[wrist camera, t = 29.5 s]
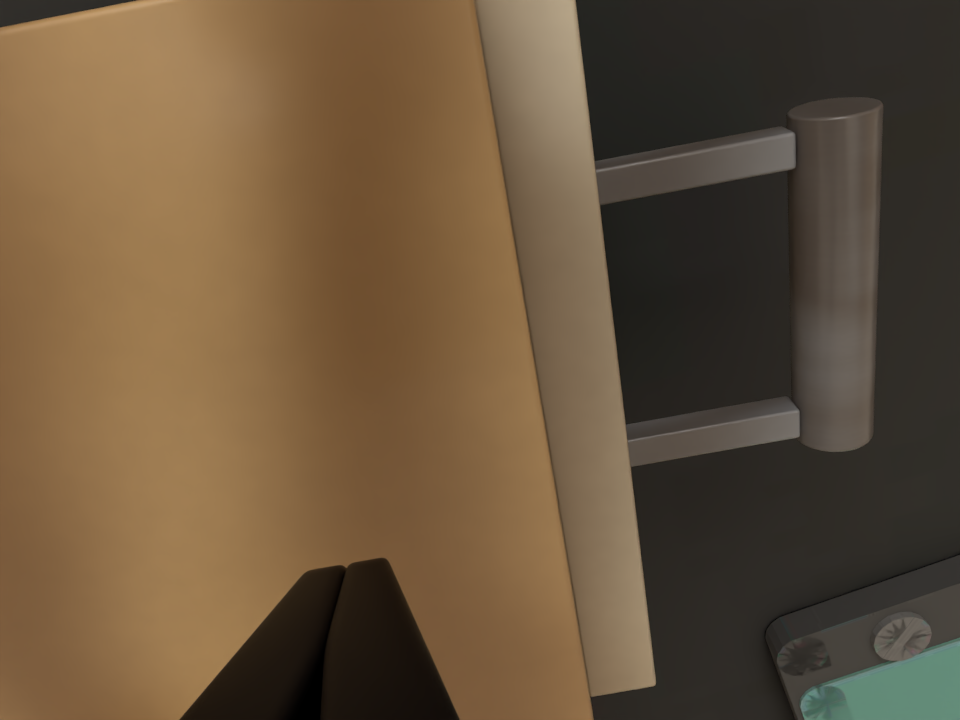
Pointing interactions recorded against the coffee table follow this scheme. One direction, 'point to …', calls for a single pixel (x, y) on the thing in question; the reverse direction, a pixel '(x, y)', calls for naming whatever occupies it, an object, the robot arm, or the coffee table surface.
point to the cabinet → (264, 352)
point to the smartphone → (876, 650)
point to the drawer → (588, 310)
